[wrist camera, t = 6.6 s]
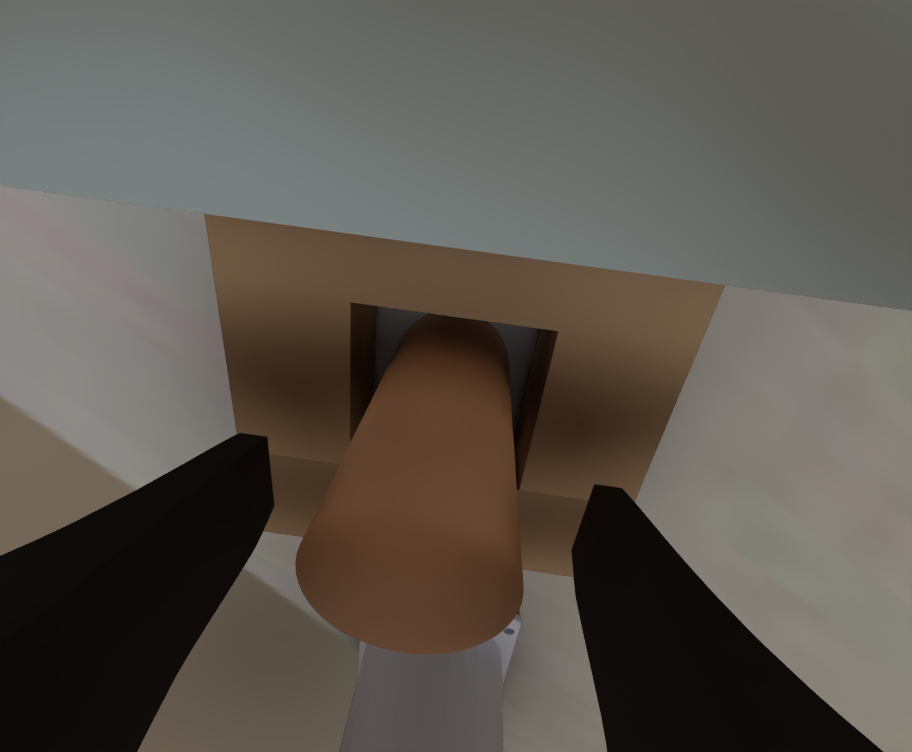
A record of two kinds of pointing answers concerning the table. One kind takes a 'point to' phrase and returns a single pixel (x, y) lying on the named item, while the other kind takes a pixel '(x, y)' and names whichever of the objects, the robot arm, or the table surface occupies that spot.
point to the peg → (424, 501)
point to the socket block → (482, 192)
